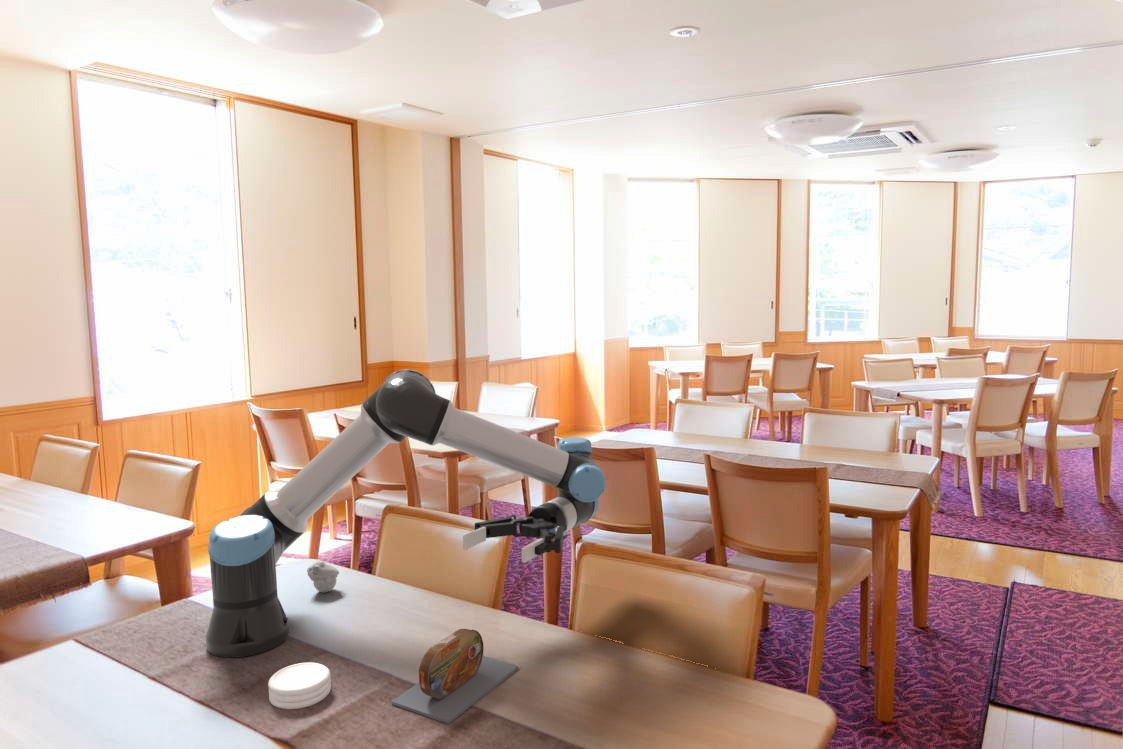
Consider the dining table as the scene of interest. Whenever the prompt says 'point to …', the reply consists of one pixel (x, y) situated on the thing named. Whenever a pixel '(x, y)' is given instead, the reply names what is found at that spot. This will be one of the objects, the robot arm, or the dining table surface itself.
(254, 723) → the dining table surface
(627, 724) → the dining table surface
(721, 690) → the dining table surface
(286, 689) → the white round stack
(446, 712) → the slate mat
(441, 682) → the tin
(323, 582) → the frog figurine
